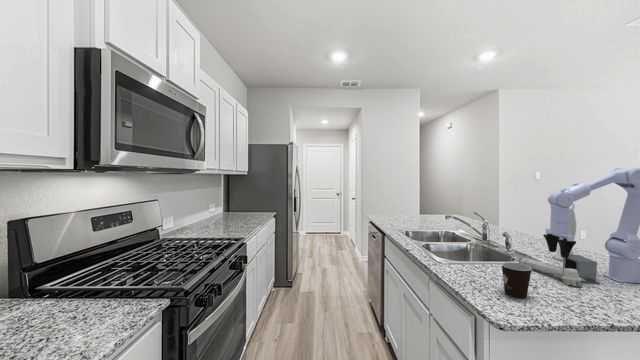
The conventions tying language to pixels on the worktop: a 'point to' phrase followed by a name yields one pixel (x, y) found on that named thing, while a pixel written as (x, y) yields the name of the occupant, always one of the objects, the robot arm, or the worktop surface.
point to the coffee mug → (516, 279)
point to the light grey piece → (554, 271)
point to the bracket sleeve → (582, 268)
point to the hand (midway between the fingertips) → (558, 254)
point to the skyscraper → (571, 231)
